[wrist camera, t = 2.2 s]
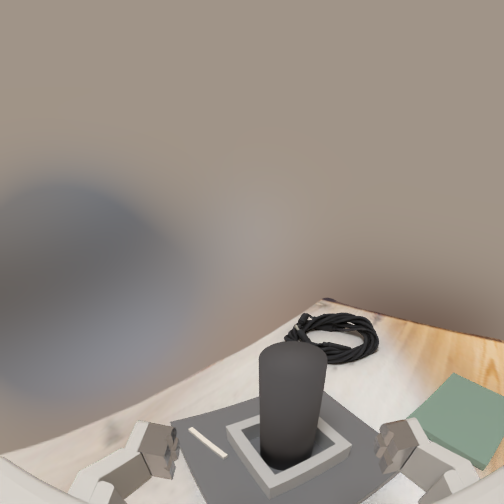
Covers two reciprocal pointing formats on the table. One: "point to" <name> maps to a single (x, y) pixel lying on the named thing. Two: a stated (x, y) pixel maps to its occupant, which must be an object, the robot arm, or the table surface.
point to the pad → (464, 419)
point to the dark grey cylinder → (290, 401)
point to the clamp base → (276, 481)
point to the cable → (337, 322)
